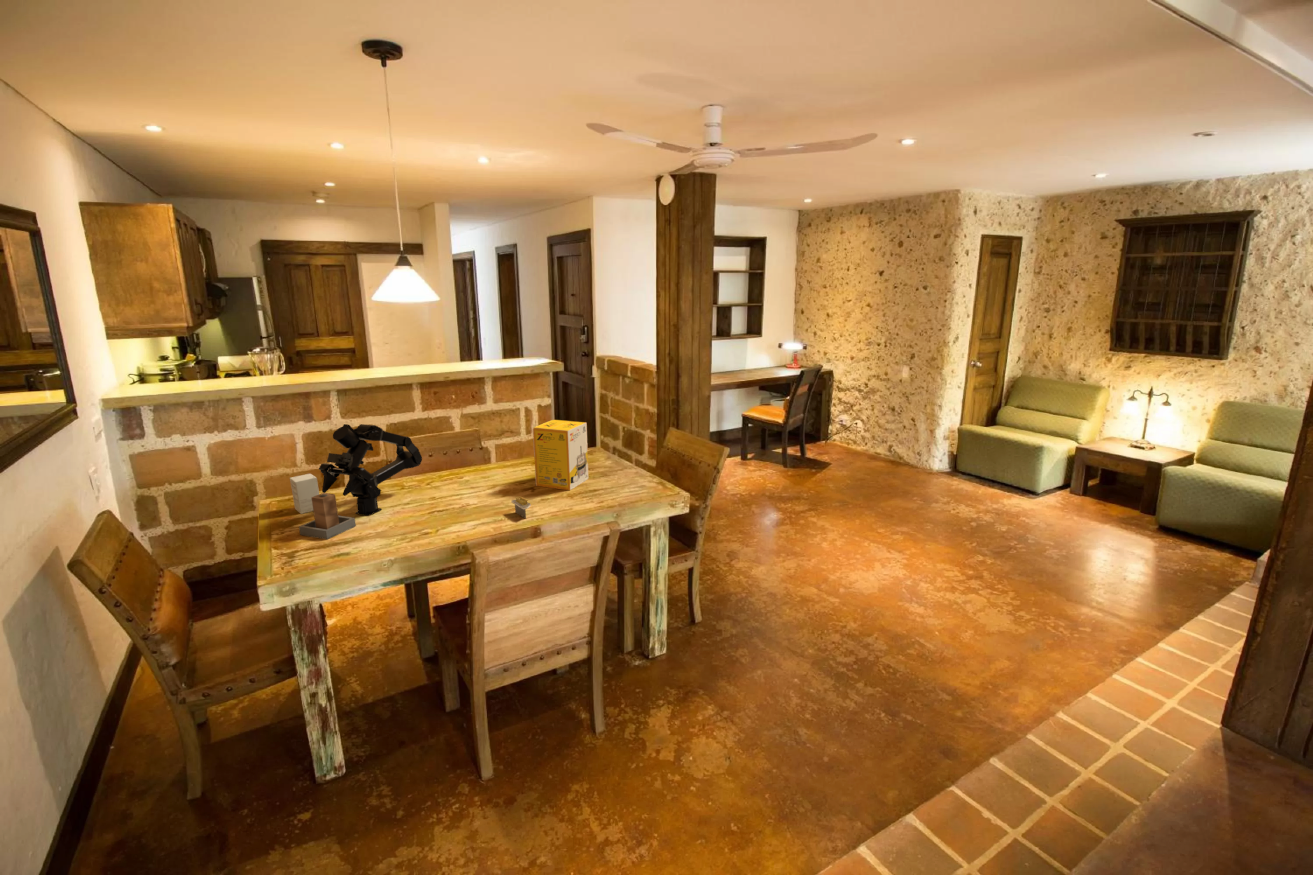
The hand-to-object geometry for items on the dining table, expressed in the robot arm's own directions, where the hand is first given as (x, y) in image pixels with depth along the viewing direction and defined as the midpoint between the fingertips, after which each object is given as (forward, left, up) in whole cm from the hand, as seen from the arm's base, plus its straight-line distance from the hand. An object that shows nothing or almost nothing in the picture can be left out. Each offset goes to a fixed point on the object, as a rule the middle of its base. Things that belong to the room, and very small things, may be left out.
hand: (333, 493), depth 207 cm
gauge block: (+4, 0, -11) cm, 12 cm away
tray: (+4, 0, -12) cm, 13 cm away
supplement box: (-9, -24, -12) cm, 28 cm away
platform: (-30, +56, -13) cm, 65 cm away
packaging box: (-68, +52, -12) cm, 86 cm away
